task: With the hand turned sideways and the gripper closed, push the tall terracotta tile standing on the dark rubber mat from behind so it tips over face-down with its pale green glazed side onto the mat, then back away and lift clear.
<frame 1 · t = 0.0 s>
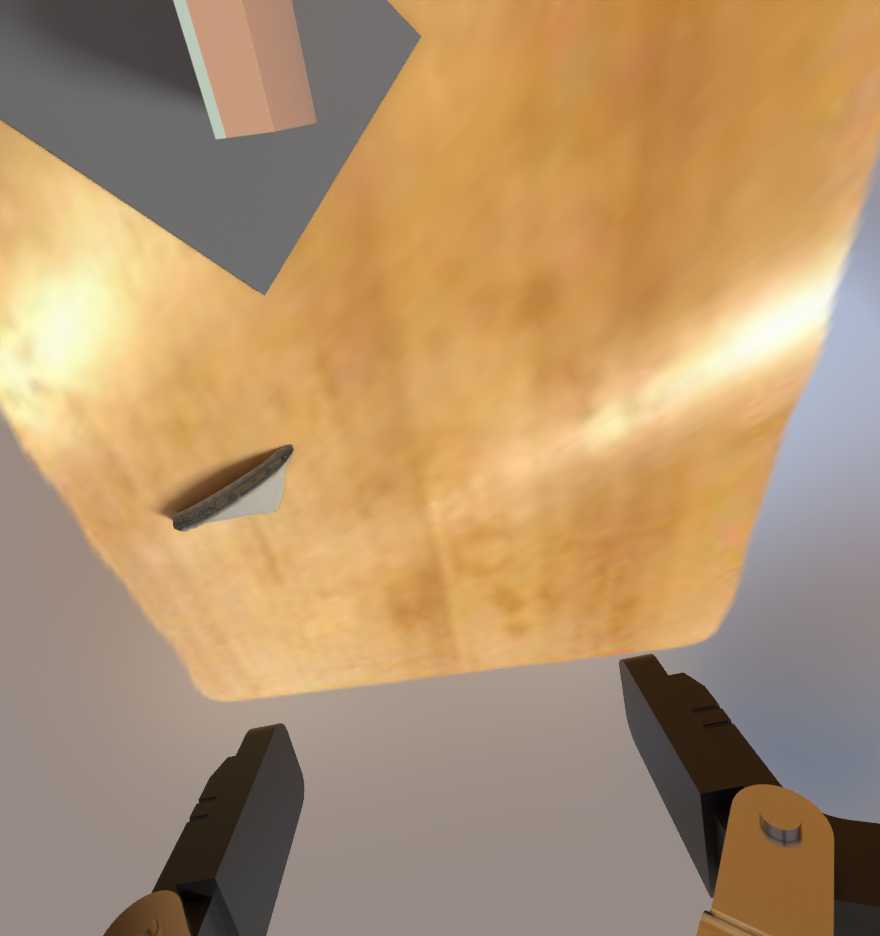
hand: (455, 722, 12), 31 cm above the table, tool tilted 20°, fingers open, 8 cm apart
ceramic fragment: (238, 483, 46), on the table
tile: (279, 37, 28), point 1 cm above the table, touching mat
mat: (162, 37, 28), on the table
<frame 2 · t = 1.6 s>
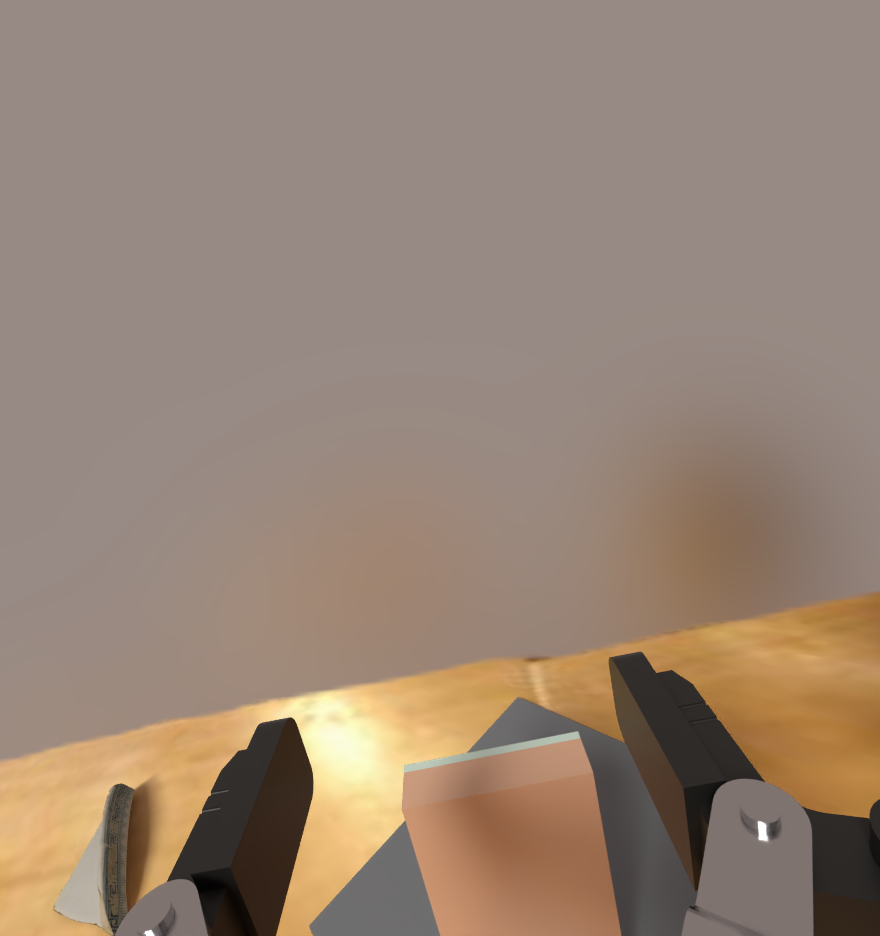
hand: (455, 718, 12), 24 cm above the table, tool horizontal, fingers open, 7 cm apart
ceramic fragment: (120, 867, 39), on the table
mat: (535, 866, 32), on the table
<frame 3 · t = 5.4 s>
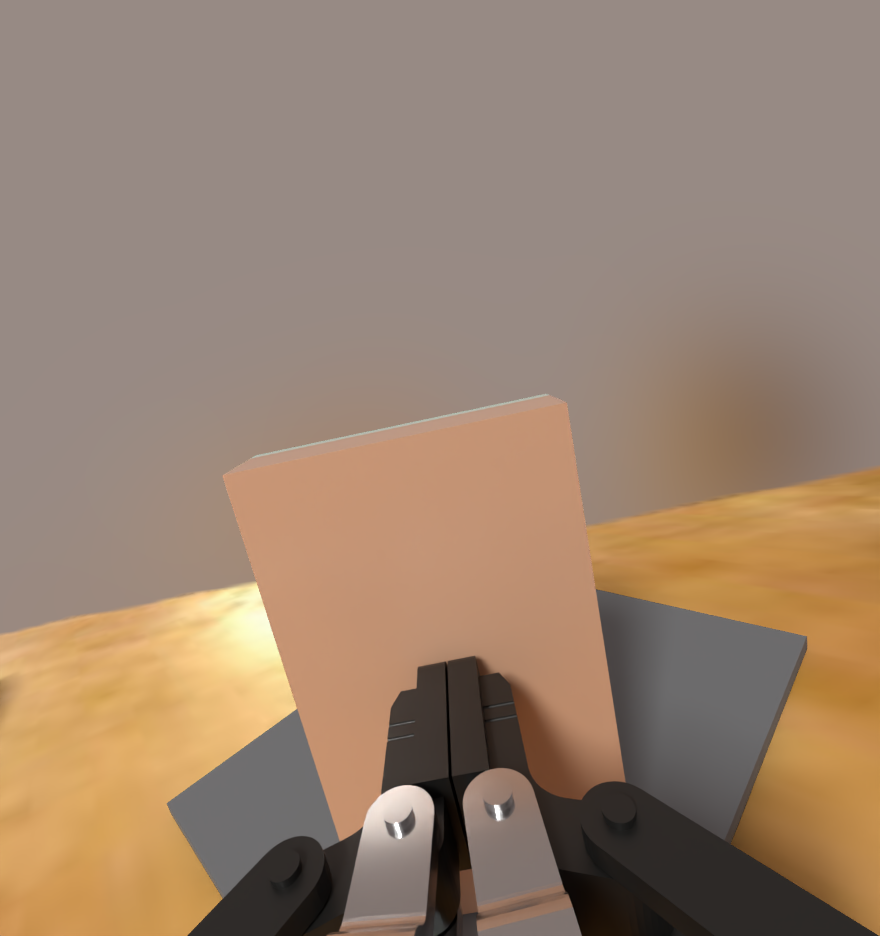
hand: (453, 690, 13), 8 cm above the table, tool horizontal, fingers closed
tile: (498, 869, 16), point 1 cm above the table, touching gripper, mat
mat: (499, 728, 22), on the table
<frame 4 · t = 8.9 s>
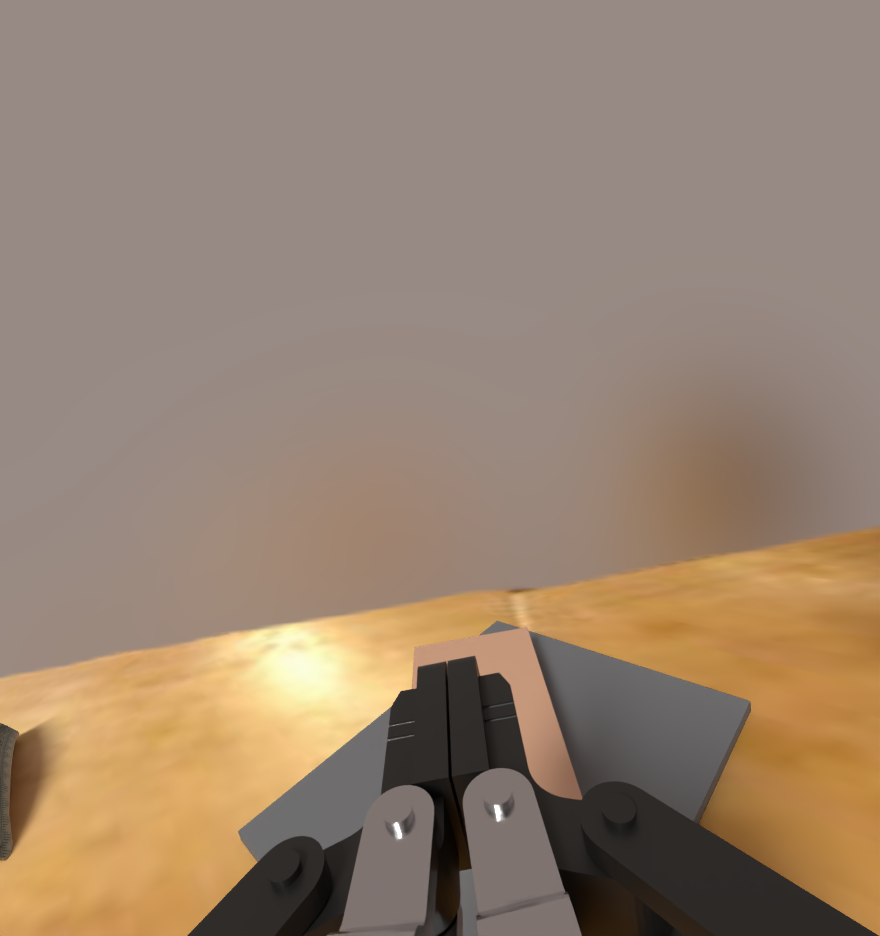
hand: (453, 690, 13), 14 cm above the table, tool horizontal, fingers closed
ceramic fragment: (0, 805, 34), on the table
tile: (496, 837, 22), point 2 cm above the table, tilted 90°, touching mat
mat: (503, 773, 28), on the table
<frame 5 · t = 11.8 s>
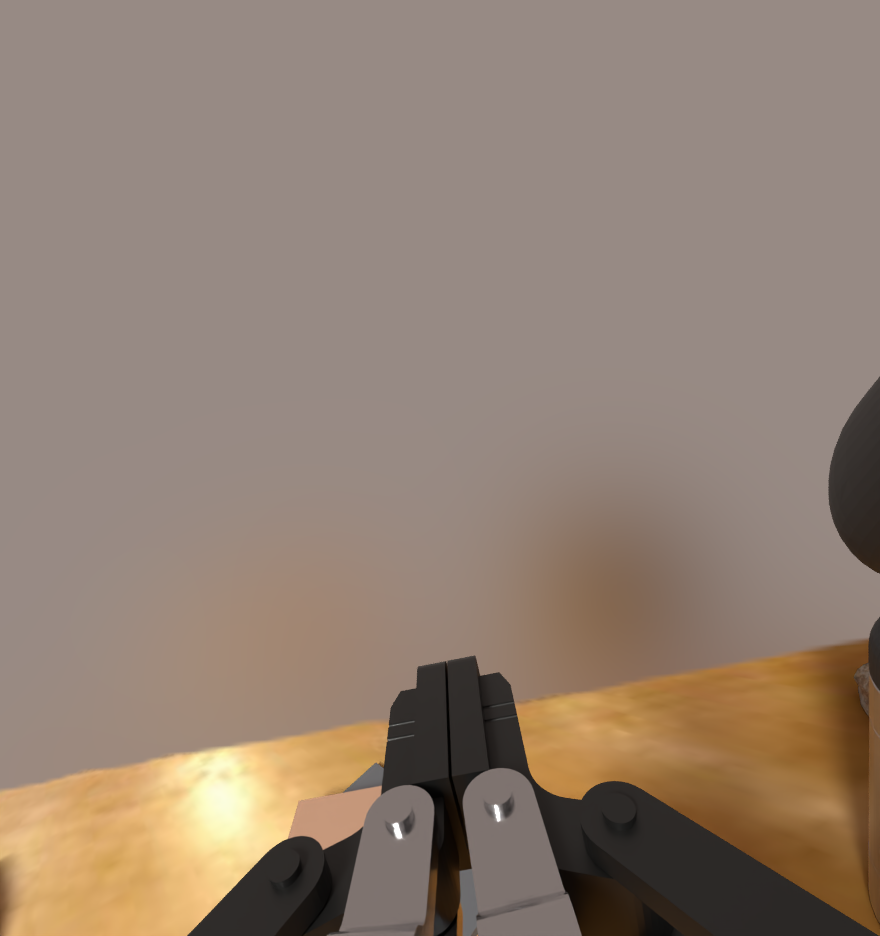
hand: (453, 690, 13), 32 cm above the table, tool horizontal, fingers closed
mat: (338, 924, 39), on the table
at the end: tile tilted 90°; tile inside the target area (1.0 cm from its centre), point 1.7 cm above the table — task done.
